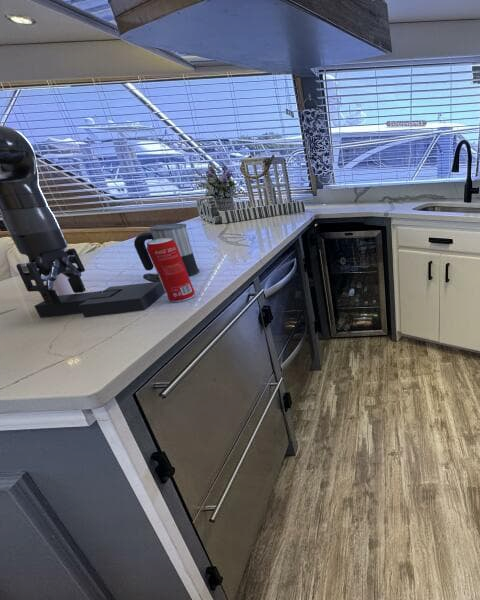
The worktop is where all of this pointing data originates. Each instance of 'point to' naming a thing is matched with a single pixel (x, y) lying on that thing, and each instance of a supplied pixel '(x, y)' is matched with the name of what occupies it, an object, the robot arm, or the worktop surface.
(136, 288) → the notch pad
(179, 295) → the beverage can
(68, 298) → the pad
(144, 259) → the milk frother
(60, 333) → the worktop surface
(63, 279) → the smoothie
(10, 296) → the worktop surface
